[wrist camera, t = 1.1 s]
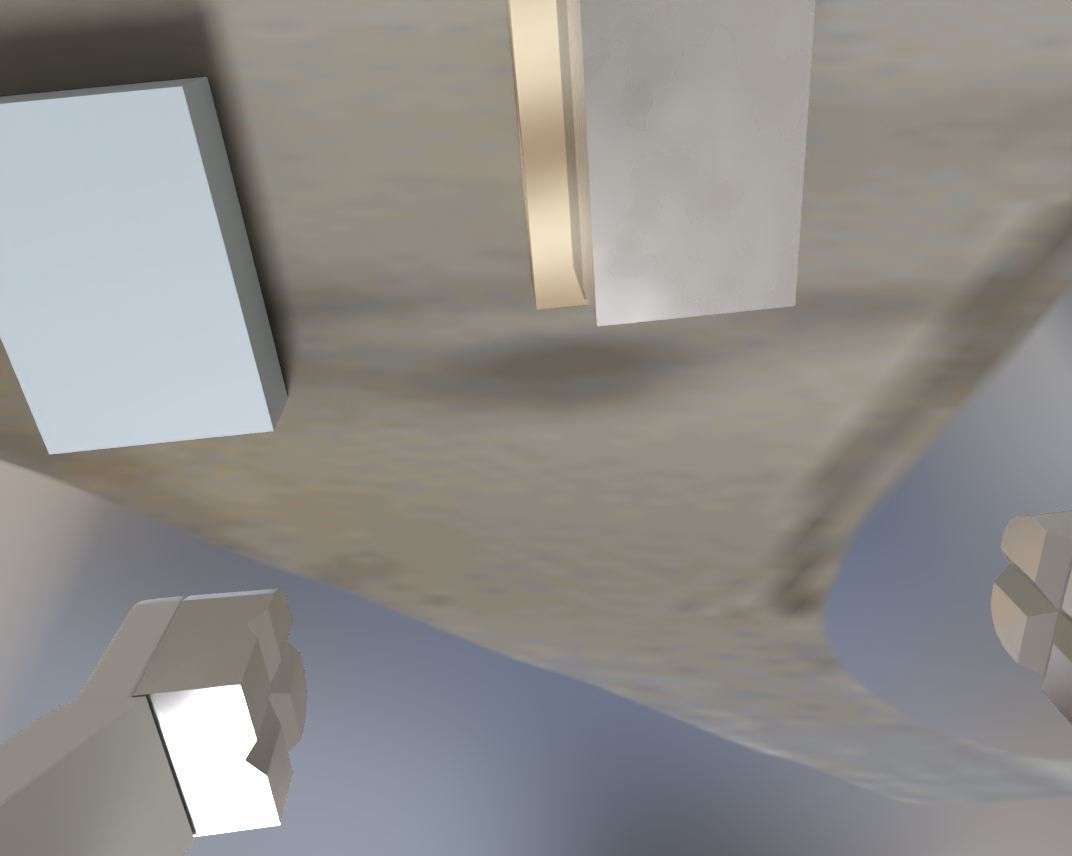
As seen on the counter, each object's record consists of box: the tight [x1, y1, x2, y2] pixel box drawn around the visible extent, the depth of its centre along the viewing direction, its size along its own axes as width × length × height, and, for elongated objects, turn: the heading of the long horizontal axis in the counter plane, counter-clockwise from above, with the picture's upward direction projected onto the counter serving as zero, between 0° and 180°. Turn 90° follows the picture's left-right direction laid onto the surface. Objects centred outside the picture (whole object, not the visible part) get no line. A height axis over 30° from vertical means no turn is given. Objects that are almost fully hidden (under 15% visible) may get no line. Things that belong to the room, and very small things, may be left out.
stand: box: [0, 77, 288, 454], centre depth 32 cm, size 13×9×3 cm
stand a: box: [507, 0, 589, 309], centre depth 31 cm, size 13×9×3 cm
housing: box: [556, 0, 816, 326], centre depth 26 cm, size 10×6×7 cm, turn 5°
